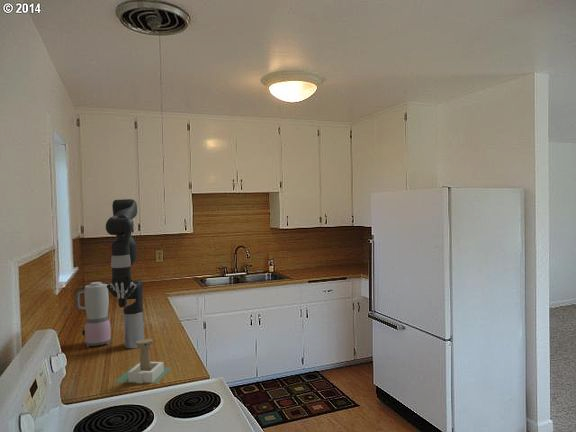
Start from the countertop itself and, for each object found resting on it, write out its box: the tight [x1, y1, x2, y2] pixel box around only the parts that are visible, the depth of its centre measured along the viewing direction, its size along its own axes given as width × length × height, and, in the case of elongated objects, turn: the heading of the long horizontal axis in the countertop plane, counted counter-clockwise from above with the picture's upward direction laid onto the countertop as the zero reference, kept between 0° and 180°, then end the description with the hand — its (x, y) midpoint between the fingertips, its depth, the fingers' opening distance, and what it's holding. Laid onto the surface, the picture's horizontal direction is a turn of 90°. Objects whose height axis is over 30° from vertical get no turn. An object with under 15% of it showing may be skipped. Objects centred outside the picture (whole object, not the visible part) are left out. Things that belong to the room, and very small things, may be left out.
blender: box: [75, 281, 112, 348], centre depth 216 cm, size 16×12×32 cm
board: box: [113, 366, 173, 384], centre depth 174 cm, size 16×18×1 cm
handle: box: [136, 338, 154, 371], centre depth 170 cm, size 5×6×15 cm
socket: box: [128, 361, 165, 384], centre depth 171 cm, size 12×10×4 cm
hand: (122, 306), depth 175 cm, fingers closed
